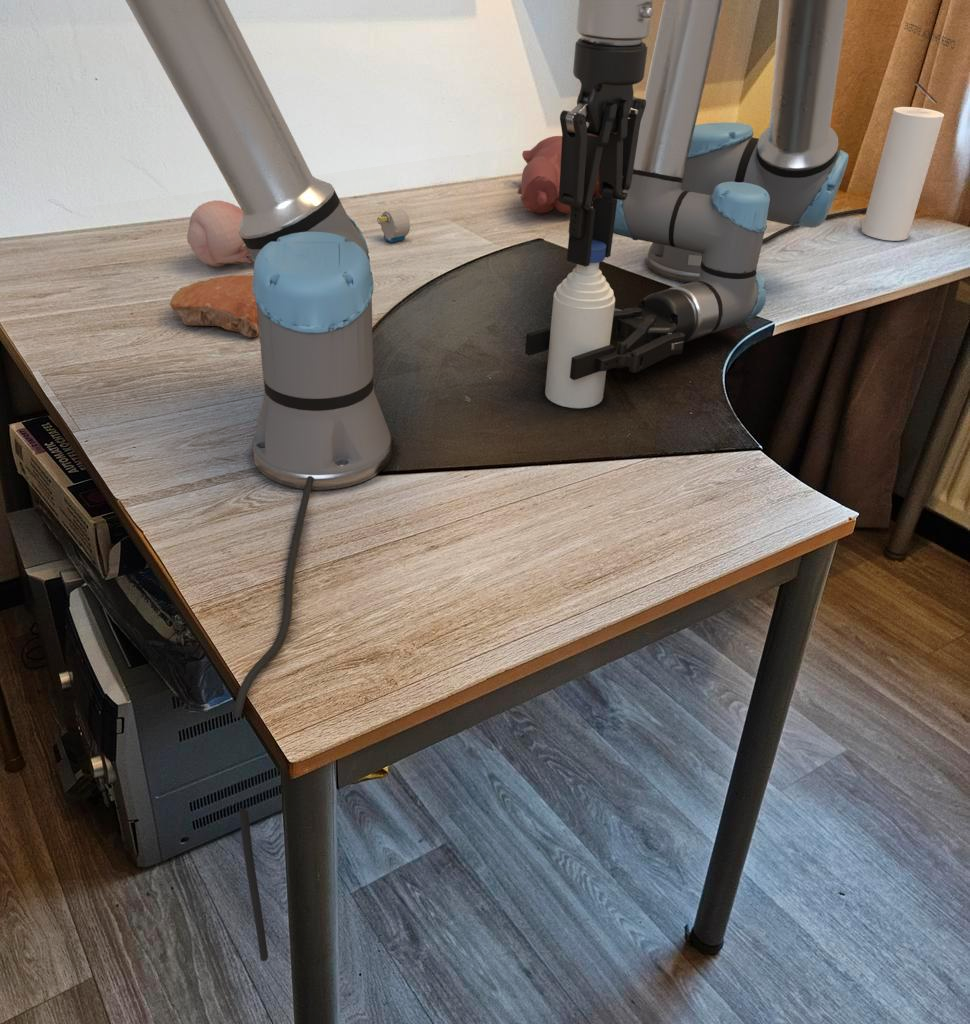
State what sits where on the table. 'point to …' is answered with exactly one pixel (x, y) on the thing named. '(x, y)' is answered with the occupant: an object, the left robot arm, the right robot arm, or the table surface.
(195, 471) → the table surface
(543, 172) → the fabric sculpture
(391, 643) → the table surface
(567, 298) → the bottle
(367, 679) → the table surface
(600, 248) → the cap
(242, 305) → the ceramic shard
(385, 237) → the electric motor
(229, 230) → the toy
